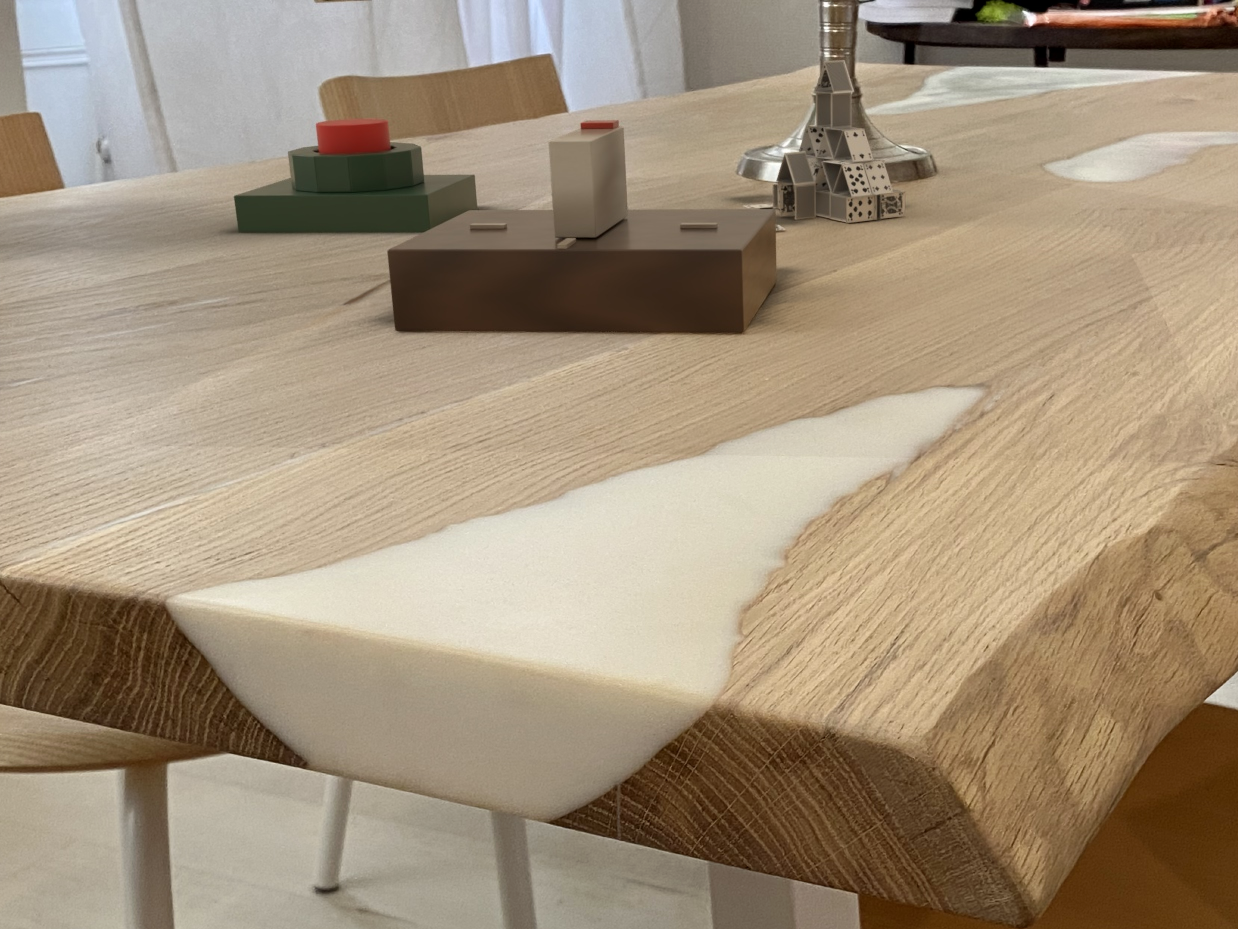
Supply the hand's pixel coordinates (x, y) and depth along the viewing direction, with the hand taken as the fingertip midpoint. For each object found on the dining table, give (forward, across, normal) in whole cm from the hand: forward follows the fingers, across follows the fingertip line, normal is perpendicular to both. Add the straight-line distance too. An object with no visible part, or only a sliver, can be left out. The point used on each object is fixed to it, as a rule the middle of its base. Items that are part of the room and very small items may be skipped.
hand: (347, 1), depth 80 cm
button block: (+11, -1, 0) cm, 11 cm away
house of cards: (+12, +21, +4) cm, 25 cm away
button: (+8, -1, 0) cm, 8 cm away
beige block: (+9, +16, -20) cm, 27 cm away
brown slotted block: (+12, +16, -20) cm, 28 cm away
